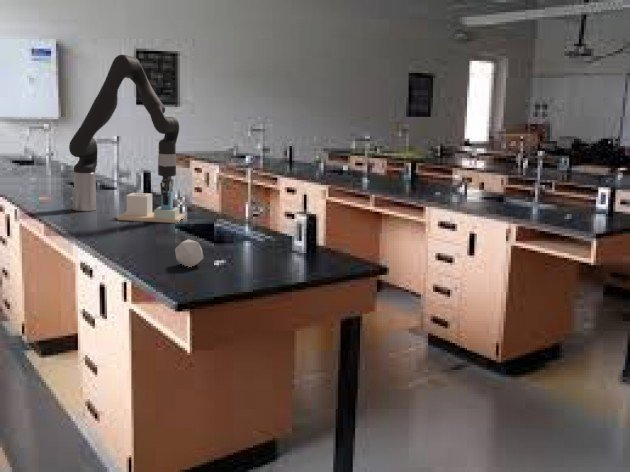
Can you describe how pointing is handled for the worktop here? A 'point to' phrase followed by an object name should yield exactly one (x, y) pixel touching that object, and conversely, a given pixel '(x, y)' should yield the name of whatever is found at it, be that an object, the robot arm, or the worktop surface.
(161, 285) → the worktop surface
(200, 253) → the grey faceted polyhedron
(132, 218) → the stepped block tray
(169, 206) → the plug
